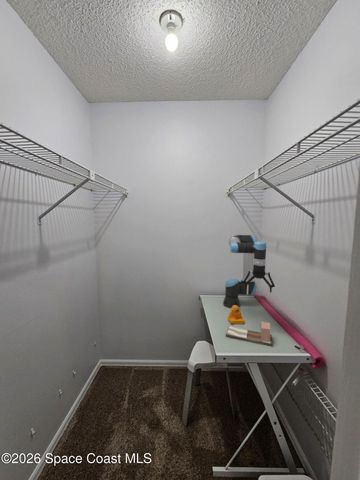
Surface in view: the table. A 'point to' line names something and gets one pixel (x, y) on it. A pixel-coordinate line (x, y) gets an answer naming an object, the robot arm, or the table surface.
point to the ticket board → (247, 336)
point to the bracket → (235, 316)
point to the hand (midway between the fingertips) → (257, 295)
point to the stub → (265, 331)
